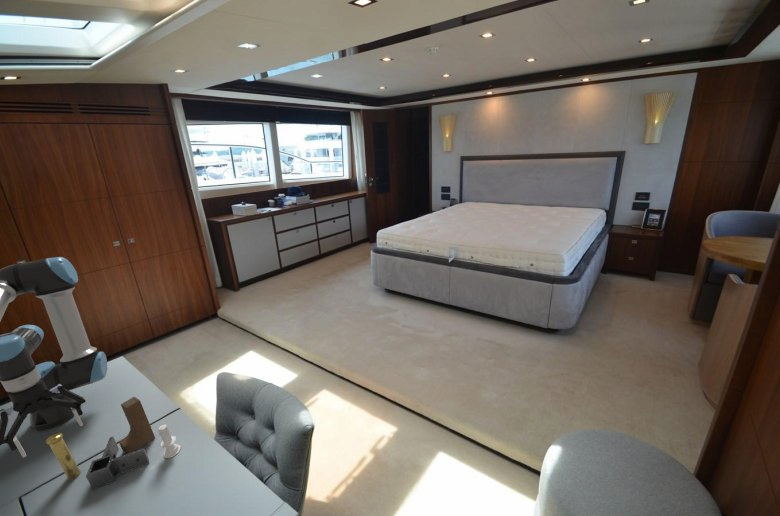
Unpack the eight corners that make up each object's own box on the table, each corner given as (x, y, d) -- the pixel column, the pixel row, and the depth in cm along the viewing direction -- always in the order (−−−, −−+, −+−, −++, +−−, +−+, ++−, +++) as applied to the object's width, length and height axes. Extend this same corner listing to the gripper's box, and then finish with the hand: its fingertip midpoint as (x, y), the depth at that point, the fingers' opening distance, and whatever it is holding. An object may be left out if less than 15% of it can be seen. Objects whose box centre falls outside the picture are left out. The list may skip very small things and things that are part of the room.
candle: (166, 461, 116) (155, 435, 112) (161, 452, 119) (151, 426, 115) (183, 450, 119) (173, 424, 115) (178, 442, 123) (168, 417, 119)
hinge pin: (65, 476, 113) (44, 439, 107) (79, 467, 116) (60, 430, 110) (68, 482, 111) (47, 444, 105) (83, 473, 114) (63, 436, 108)
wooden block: (128, 457, 118) (110, 417, 112) (122, 451, 121) (104, 412, 115) (155, 438, 125) (140, 400, 119) (150, 433, 128) (134, 395, 122)
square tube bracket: (107, 452, 121) (101, 440, 119) (155, 436, 126) (150, 423, 124) (92, 489, 108) (85, 476, 106) (147, 469, 113) (141, 456, 111)
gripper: (-39, 417, 89) (-2, 475, 96) (81, 365, 107) (105, 417, 115) (-41, 406, 93) (-6, 463, 100) (74, 358, 112) (98, 408, 119)
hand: (53, 438), depth 107 cm, fingers open, 13 cm apart
